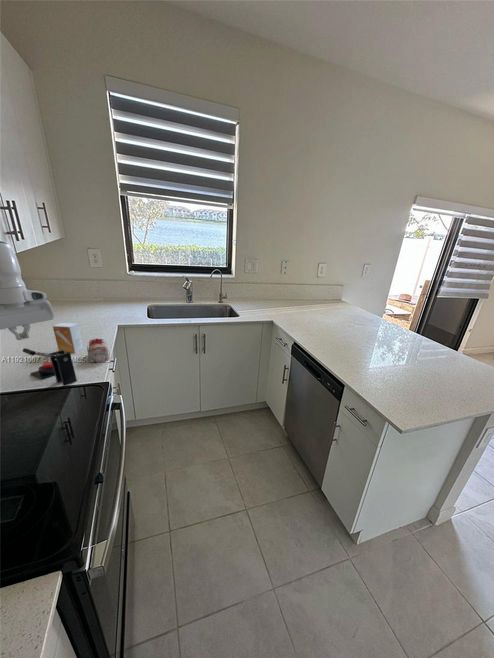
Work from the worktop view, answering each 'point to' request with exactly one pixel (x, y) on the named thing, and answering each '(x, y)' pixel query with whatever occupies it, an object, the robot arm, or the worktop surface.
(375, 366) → the worktop surface
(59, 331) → the small box
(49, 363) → the button
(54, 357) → the lever
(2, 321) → the robot arm
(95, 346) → the food item
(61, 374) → the bracket
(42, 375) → the control block
